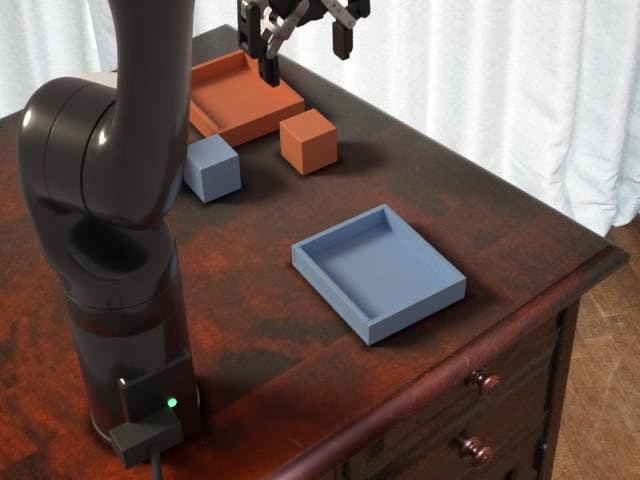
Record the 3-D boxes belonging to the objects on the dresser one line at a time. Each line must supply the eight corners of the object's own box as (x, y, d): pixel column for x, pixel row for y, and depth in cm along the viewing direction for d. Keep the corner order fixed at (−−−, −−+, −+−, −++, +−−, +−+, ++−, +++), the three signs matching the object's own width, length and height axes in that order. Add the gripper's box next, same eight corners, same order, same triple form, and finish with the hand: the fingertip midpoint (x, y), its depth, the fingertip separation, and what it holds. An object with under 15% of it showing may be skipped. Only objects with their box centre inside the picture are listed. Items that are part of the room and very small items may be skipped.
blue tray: (464, 297, 110) (466, 277, 108) (368, 346, 105) (368, 326, 104) (384, 222, 118) (384, 203, 116) (292, 264, 114) (291, 245, 112)
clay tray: (305, 118, 132) (304, 99, 130) (220, 152, 127) (218, 133, 126) (247, 65, 140) (245, 47, 138) (165, 96, 136) (162, 77, 134)
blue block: (241, 188, 123) (238, 154, 120) (204, 203, 121) (200, 170, 118) (220, 166, 125) (217, 133, 122) (184, 181, 124) (180, 148, 121)
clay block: (337, 161, 126) (337, 128, 123) (302, 175, 124) (301, 142, 121) (315, 140, 129) (314, 107, 126) (281, 154, 127) (279, 121, 124)
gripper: (256, -37, 103) (266, 111, 114) (386, -81, 108) (384, 64, 119) (215, -70, 107) (229, 75, 118) (342, -110, 113) (344, 31, 124)
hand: (307, 69), depth 119 cm, fingers open, 8 cm apart
